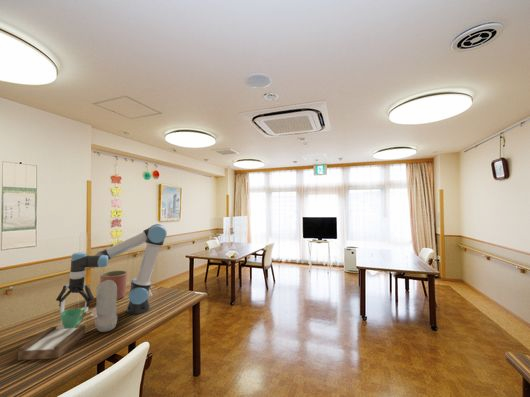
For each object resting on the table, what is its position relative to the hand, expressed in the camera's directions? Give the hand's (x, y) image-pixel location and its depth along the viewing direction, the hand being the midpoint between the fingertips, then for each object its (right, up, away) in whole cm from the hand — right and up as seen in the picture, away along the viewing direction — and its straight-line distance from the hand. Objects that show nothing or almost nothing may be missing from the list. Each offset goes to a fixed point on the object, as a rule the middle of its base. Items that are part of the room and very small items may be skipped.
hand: (74, 311), depth 152 cm
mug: (0, -9, 0) cm, 9 cm away
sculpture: (+21, -10, -3) cm, 24 cm away
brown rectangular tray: (+6, -9, -21) cm, 24 cm away
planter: (-6, -11, +48) cm, 50 cm away
